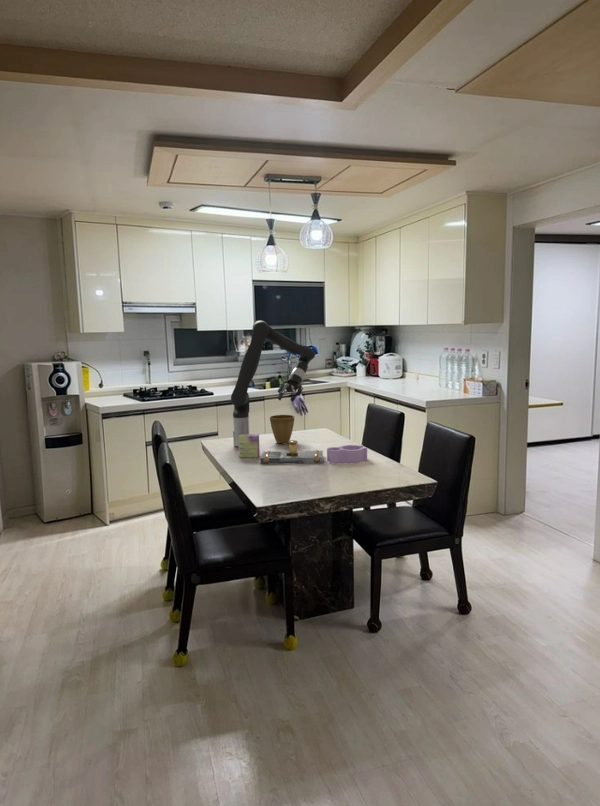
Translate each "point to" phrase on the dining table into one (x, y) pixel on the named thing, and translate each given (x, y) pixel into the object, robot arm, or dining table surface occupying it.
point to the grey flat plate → (292, 457)
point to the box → (248, 445)
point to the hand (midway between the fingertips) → (285, 400)
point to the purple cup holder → (347, 454)
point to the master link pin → (292, 448)
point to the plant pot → (282, 427)
